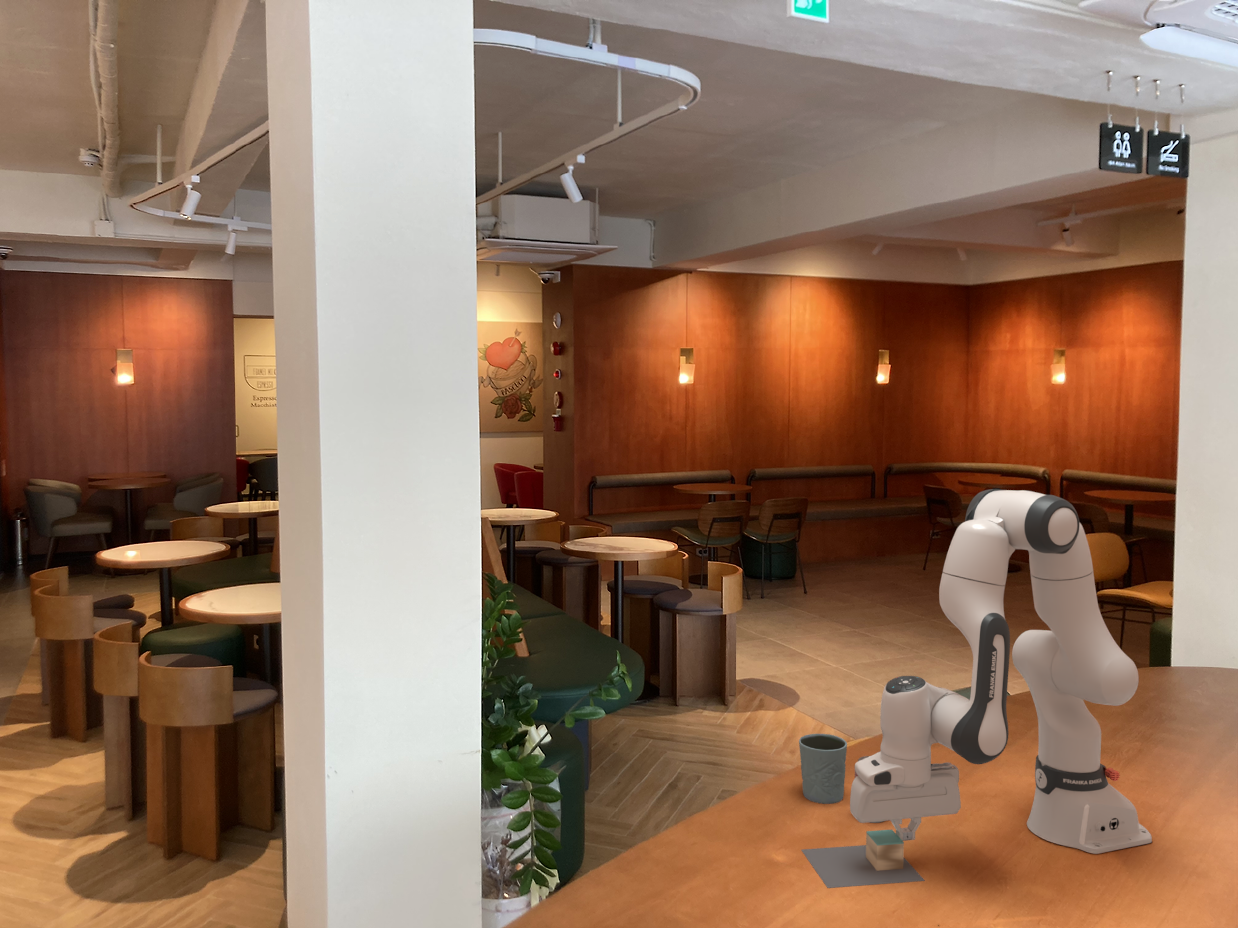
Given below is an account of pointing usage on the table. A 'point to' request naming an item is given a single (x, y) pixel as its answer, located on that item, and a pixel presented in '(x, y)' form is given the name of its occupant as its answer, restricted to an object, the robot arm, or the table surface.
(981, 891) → the table surface
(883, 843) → the maple cube
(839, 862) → the rubber mat
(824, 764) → the grey blue cup
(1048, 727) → the robot arm
